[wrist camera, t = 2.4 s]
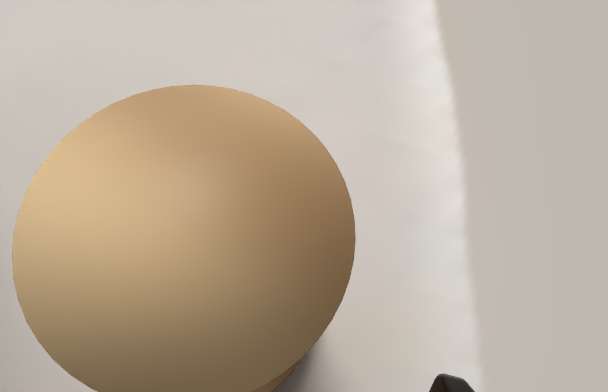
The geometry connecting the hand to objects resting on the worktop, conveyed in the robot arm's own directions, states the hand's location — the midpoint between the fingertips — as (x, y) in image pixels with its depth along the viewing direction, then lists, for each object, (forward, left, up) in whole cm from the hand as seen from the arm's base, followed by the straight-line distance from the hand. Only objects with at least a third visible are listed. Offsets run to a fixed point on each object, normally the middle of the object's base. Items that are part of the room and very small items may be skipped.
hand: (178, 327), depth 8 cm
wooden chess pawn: (+1, +1, -9) cm, 9 cm away
